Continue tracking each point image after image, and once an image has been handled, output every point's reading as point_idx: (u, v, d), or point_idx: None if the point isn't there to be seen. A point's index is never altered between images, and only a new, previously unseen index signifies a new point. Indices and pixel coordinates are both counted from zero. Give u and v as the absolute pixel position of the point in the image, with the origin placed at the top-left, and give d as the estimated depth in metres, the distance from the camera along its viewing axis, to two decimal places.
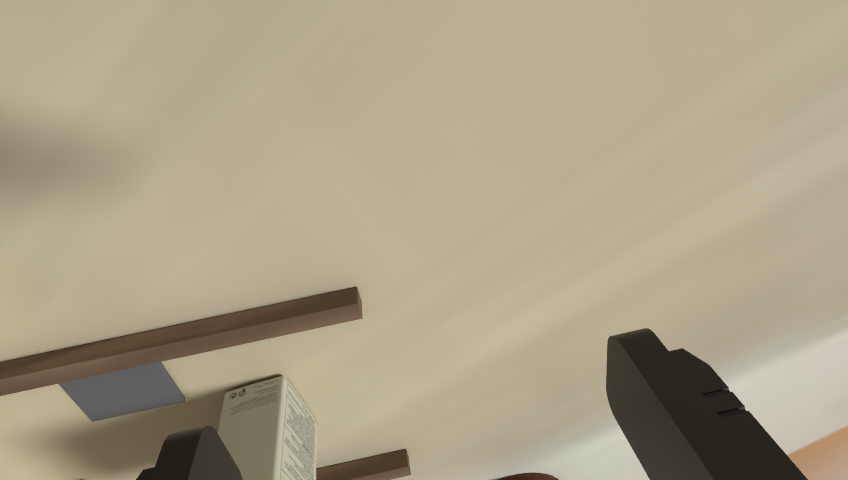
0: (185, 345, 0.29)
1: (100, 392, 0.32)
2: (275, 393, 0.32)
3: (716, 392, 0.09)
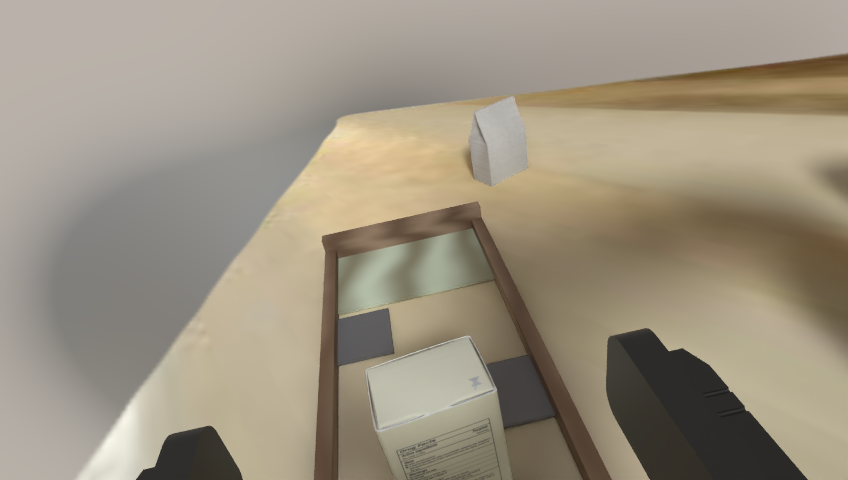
0: (582, 433, 0.33)
1: (504, 377, 0.40)
2: None
3: (716, 392, 0.09)
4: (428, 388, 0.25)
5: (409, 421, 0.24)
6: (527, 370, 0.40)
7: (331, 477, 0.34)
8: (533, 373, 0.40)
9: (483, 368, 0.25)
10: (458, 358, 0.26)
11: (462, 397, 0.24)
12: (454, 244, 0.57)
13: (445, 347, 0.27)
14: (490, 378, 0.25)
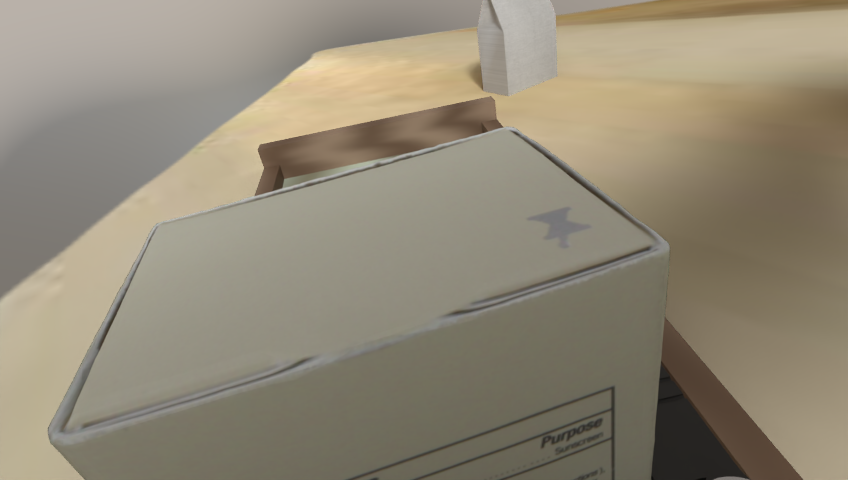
0: (759, 448, 0.14)
1: None
2: None
3: None
4: (351, 256, 0.06)
5: (231, 393, 0.04)
6: None
7: None
8: None
9: (582, 187, 0.06)
10: (477, 170, 0.07)
11: (504, 279, 0.05)
12: None
13: (432, 155, 0.08)
14: (623, 212, 0.06)
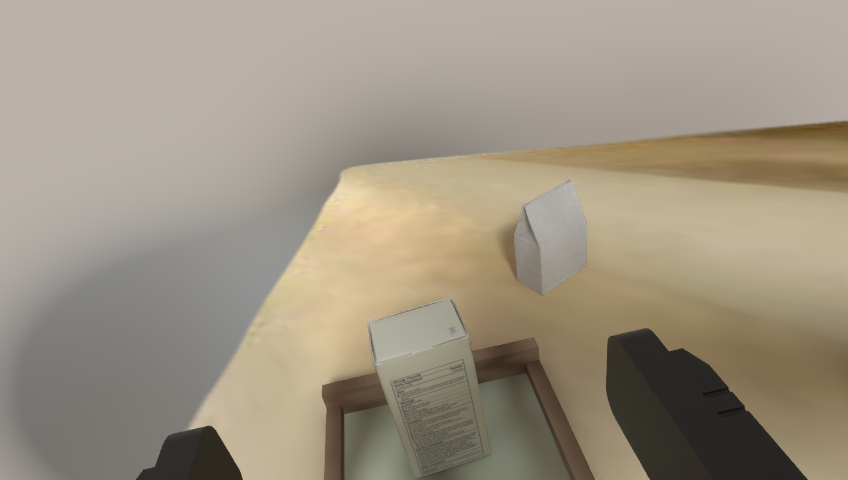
0: None
1: None
2: None
3: (716, 392, 0.09)
4: (416, 335, 0.32)
5: (400, 358, 0.31)
6: None
7: None
8: None
9: (459, 321, 0.32)
10: (440, 313, 0.33)
11: (441, 341, 0.31)
12: (504, 402, 0.41)
13: (431, 306, 0.34)
14: (464, 328, 0.32)
